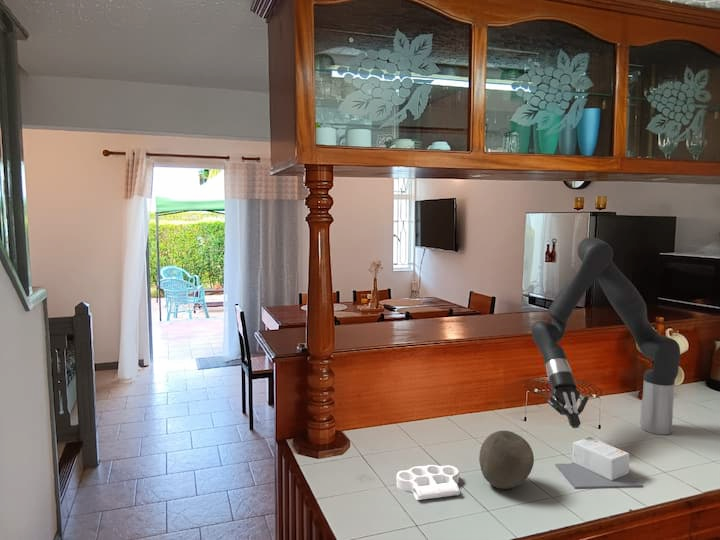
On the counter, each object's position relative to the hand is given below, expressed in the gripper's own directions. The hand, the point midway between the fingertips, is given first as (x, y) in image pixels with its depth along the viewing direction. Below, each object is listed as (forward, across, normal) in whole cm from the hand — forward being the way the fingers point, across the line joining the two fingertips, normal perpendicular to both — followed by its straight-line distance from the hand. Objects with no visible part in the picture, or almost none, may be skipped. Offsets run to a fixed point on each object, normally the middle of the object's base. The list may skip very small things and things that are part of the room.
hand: (576, 427), depth 155 cm
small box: (+5, +1, +4) cm, 7 cm away
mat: (+14, +2, 0) cm, 14 cm away
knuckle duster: (+17, -47, -1) cm, 50 cm away
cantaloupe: (+17, -26, -2) cm, 32 cm away
